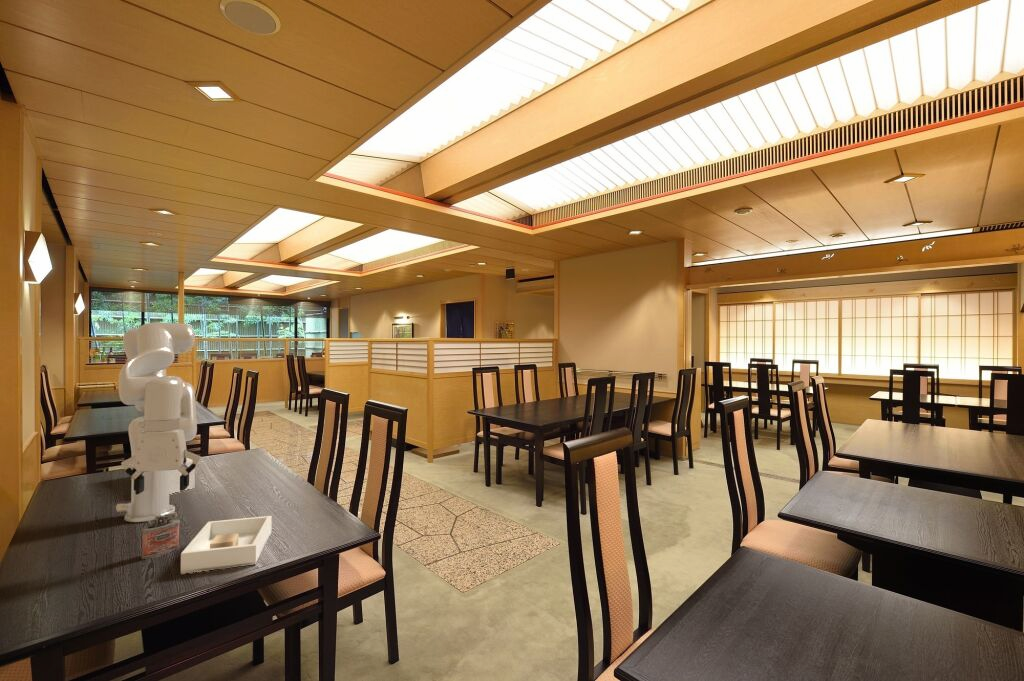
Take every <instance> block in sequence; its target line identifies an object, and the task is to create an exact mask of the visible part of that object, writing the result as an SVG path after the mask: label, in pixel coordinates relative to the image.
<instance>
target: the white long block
mask: <svg viewBox="0 0 1024 681" xmlns="http://www.w3.org/2000/svg"><path fill="white" fill-rule="evenodd" d="M192 462H193V460H192V459H189V458H187V461H186V465H187V466H188V467H189V466H190V465H191V464H192ZM181 475H182V474H181V473H180V472H179V471H178V470H177V469H175V470H170V478H169V494H170V495H173V494H172V493H175V492H179V493H181V492H180V476H181ZM195 476H196V467H195V468H194V469H193V470H192V471H191V472H190V473H189V486H187V488H186V489H185V490H187V489H192V488H195V489H196V487H195V486H196V477H195ZM175 494H176V493H175Z"/></svg>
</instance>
